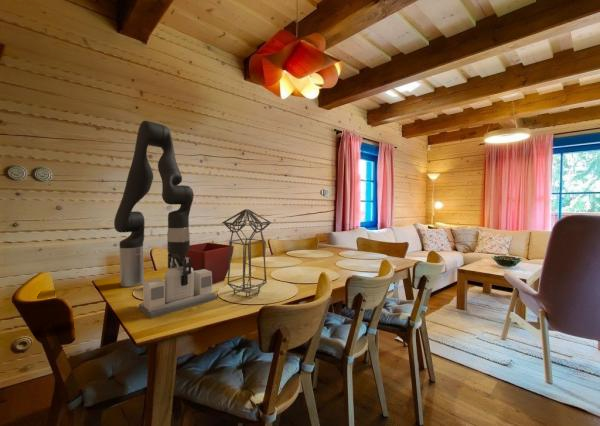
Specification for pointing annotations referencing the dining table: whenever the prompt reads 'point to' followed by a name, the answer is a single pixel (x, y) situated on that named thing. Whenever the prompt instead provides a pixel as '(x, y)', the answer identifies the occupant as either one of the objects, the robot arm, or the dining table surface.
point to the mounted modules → (156, 288)
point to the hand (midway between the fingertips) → (179, 282)
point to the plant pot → (210, 259)
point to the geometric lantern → (241, 215)
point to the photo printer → (177, 286)
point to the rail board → (178, 305)
